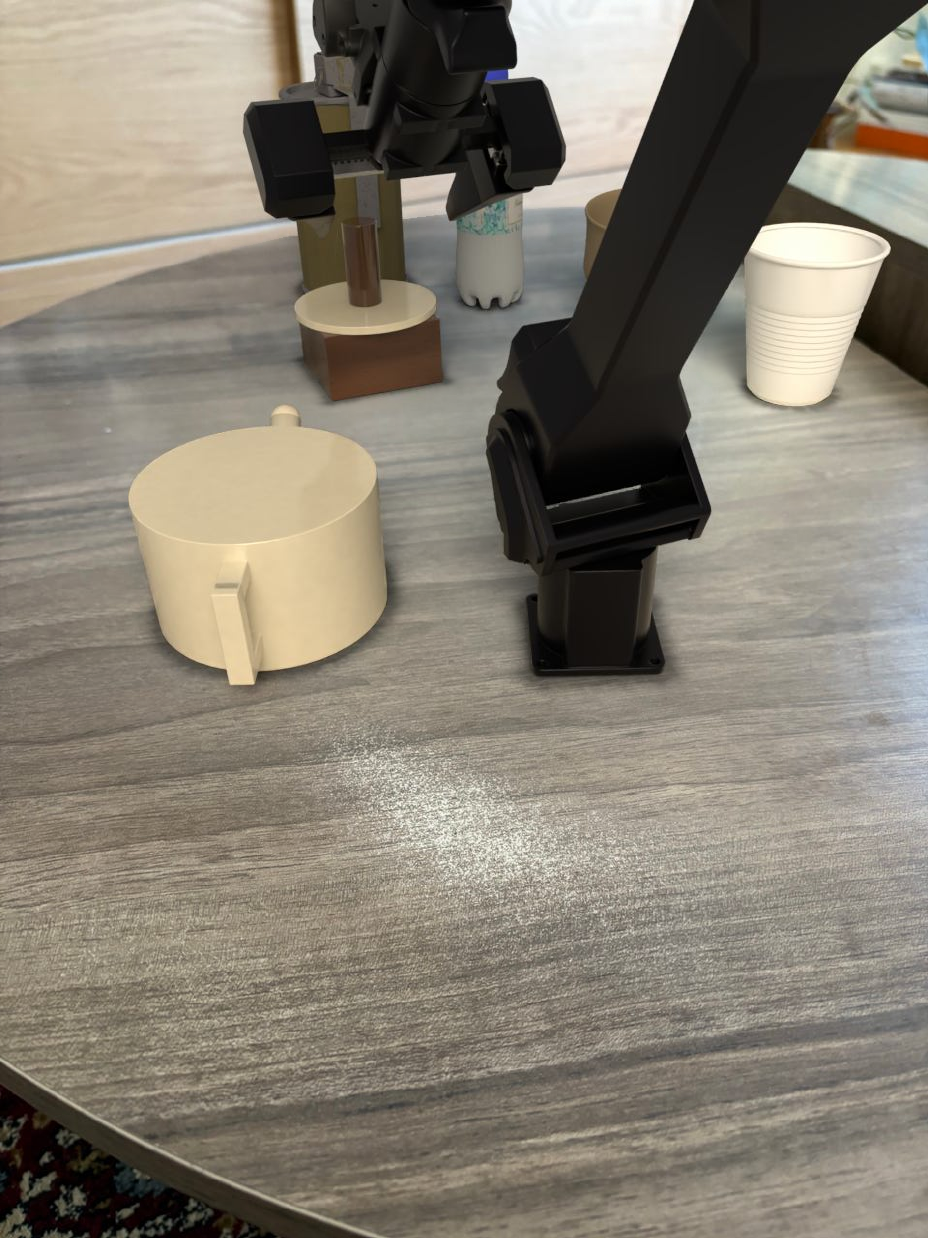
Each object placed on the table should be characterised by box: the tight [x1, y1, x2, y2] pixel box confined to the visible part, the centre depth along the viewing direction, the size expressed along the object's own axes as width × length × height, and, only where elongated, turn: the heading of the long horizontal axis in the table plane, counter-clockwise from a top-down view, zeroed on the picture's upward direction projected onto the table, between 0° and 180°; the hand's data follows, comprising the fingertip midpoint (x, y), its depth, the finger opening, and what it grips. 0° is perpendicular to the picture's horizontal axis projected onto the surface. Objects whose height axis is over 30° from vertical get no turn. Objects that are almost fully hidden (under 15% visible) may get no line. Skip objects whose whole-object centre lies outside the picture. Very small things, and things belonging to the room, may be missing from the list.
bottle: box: [454, 70, 525, 310], centre depth 87 cm, size 7×7×20 cm
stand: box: [298, 313, 443, 402], centre depth 79 cm, size 9×9×5 cm
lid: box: [294, 217, 438, 335], centre depth 75 cm, size 11×11×7 cm
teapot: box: [127, 403, 388, 686], centre depth 53 cm, size 20×12×8 cm, turn 0°
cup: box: [743, 222, 892, 407], centre depth 72 cm, size 10×10×11 cm
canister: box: [278, 51, 409, 294], centre depth 91 cm, size 11×10×20 cm
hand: (386, 222), depth 67 cm, fingers open, 9 cm apart
